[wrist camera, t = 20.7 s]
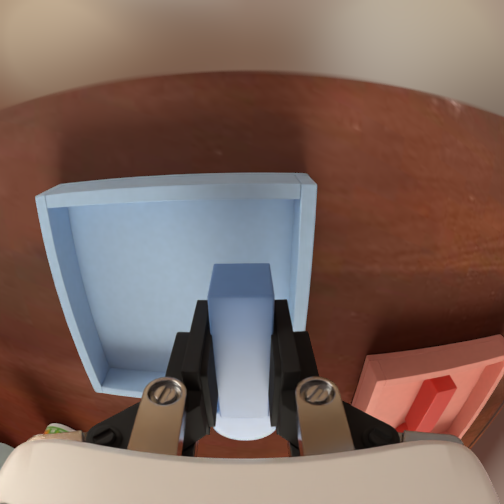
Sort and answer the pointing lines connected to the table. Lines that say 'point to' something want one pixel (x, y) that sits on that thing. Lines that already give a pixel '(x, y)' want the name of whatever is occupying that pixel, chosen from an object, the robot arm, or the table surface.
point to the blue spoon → (242, 347)
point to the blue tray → (167, 258)
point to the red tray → (427, 367)
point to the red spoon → (429, 404)
